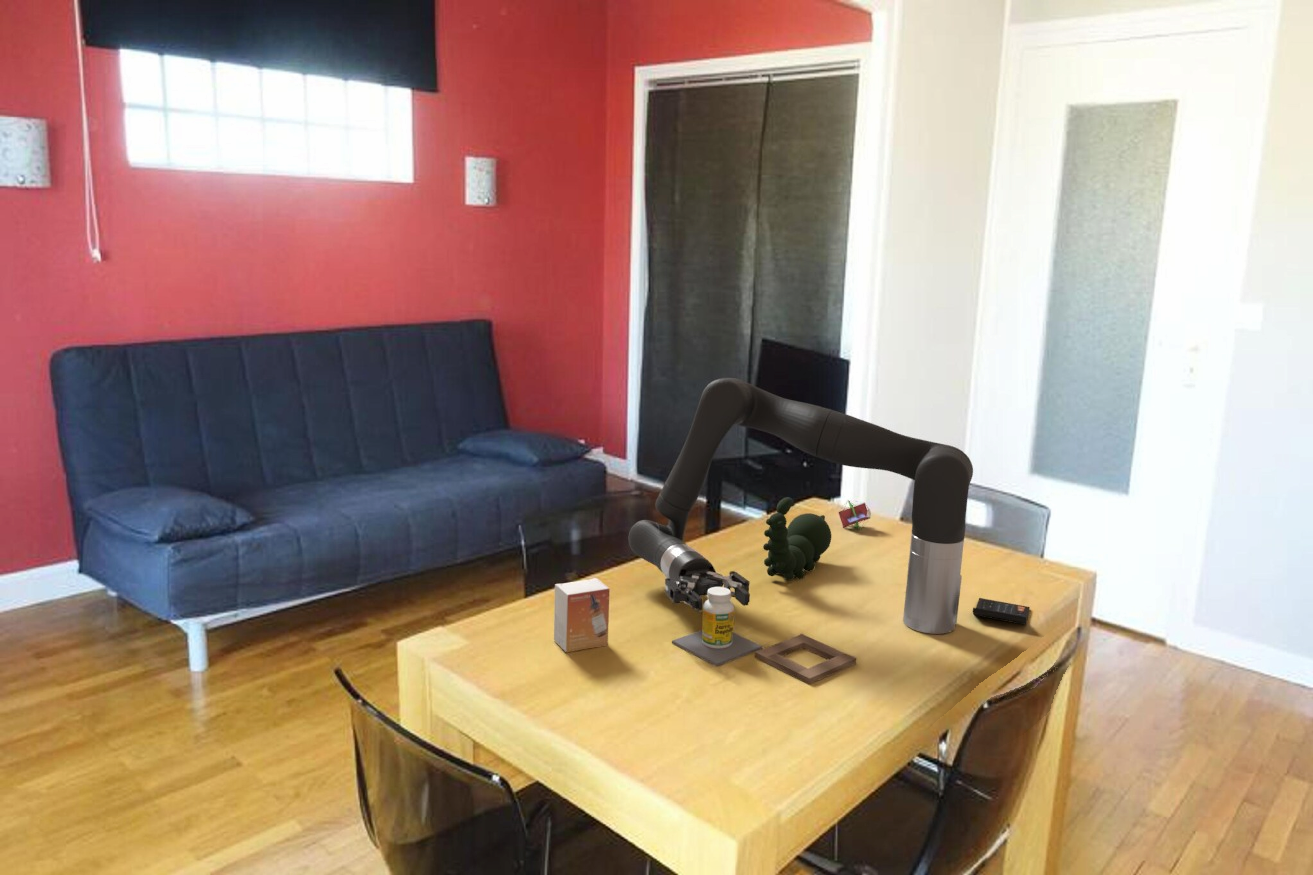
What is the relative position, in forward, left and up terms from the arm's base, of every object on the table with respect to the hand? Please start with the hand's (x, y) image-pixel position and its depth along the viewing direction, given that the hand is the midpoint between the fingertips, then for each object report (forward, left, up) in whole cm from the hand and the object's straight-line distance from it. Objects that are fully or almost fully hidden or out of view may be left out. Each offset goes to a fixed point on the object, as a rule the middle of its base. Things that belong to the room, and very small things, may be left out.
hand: (724, 603), depth 167 cm
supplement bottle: (-1, -2, -8) cm, 9 cm away
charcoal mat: (-1, -2, -9) cm, 9 cm away
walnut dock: (-9, +11, -9) cm, 17 cm away
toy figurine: (-40, -18, -9) cm, 44 cm away
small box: (+17, -17, -9) cm, 26 cm away
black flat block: (-54, +21, -9) cm, 58 cm away
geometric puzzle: (-73, -29, -9) cm, 79 cm away
